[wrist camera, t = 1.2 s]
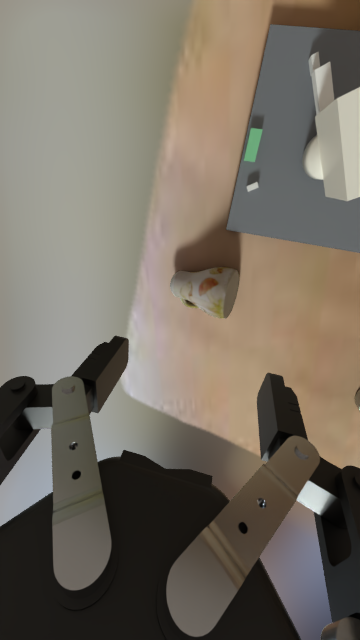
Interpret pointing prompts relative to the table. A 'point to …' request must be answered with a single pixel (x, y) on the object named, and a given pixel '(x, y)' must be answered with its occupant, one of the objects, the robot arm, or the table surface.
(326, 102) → the peg knob
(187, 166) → the table surface
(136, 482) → the robot arm
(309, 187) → the dial board
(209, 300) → the mug
